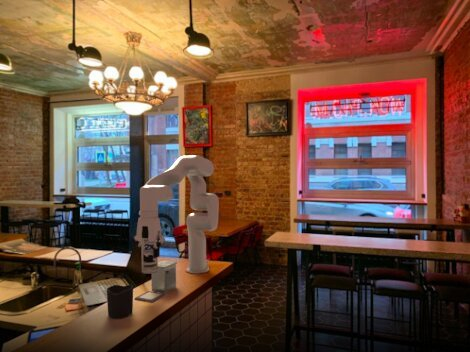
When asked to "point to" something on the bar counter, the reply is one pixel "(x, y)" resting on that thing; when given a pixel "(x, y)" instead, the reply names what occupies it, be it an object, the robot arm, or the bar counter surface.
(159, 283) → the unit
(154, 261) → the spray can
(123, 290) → the pen holder
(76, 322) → the bar counter surface
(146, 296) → the pad
